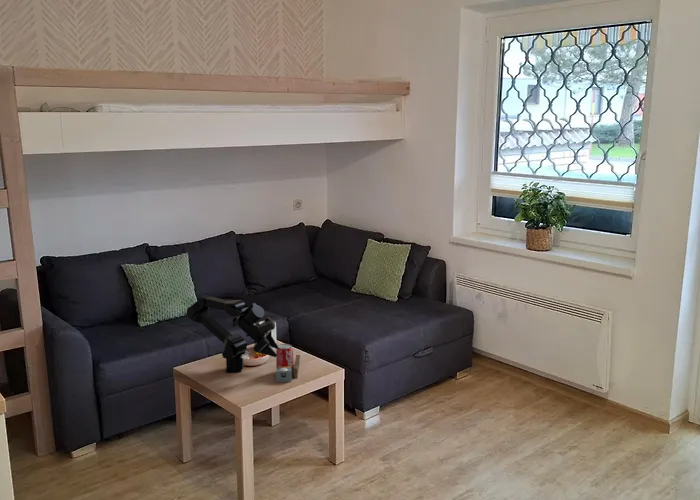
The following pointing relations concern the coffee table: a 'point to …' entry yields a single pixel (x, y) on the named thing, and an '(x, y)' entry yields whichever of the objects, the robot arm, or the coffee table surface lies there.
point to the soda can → (284, 356)
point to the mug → (272, 332)
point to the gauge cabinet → (283, 378)
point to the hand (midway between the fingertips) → (276, 352)
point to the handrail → (296, 366)
